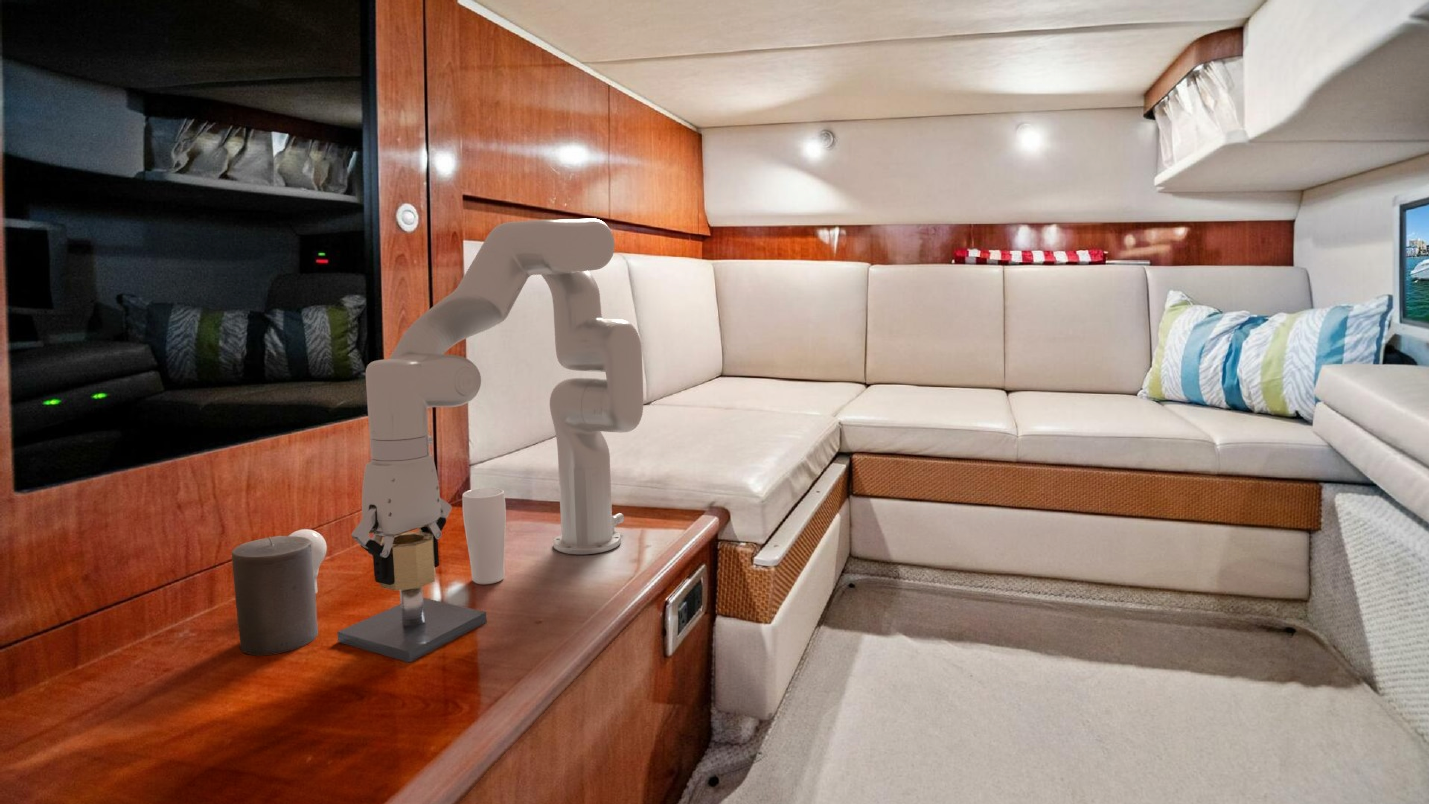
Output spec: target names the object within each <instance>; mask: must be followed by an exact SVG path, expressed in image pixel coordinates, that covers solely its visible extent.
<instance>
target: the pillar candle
mask: <svg viewBox="0 0 1429 804" xmlns="http://www.w3.org/2000/svg"><path fill="white" fill-rule="evenodd" d="M311 543H312V541H311V540H309V539H307V538H305V537H297V536H289V535H283V536H282V535H278V536H272V537H271V536H268V537H265V538H260V539H255V540H252V541H248V542H244V543H241V544H240V545H237V546H236V547H235V548H233V549H232V551H231V559H232V560H231V561H232V562H231V564H232V574H233V575H232V576H233V584H234V586H233V587H234V596H235V608H236V617H237V618H236V619H237V627H238V636H239V643H240V645H239V649H240V651H241V652H242V653H245V654H247V655H251V656H268V655H269V656H270V655H276V654H283V653H286V652H291V651H295V650H298V649H300V648H302V647H304V646H306V645H308V644H310V643H311V642H313V641H314V640H315V639H316V638H317V637H318V634H319V631H318V629H319V628H318V627H319V626H318V617H317V615H318V614H317V600H316V594H315V586H314V574H313V562H312V548H311Z"/></svg>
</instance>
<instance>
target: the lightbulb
mask: <svg viewBox="0 0 1429 804" xmlns="http://www.w3.org/2000/svg"><path fill="white" fill-rule="evenodd" d="M288 536H297V537H305V538H307V539H309V540H311V541H312V543H311V548H312V562H313V574H314V586H315V595H316V594H317V593H318V592H319V591H318V581H317V580H318V578H317V577H318V575H319V571H320V570H319V569H320V566H321V564H322V562H323V561H324V559H325V557H326V555H327V549H328V547H327V542H326V539H325V538H324V536H323V535H322V534H320V533H319V532H318V531H315V530H313V529H311V528H309V529H307V528H302V529H298V530H296V531H293V532H292V533H290V534H289V535H288Z"/></svg>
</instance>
